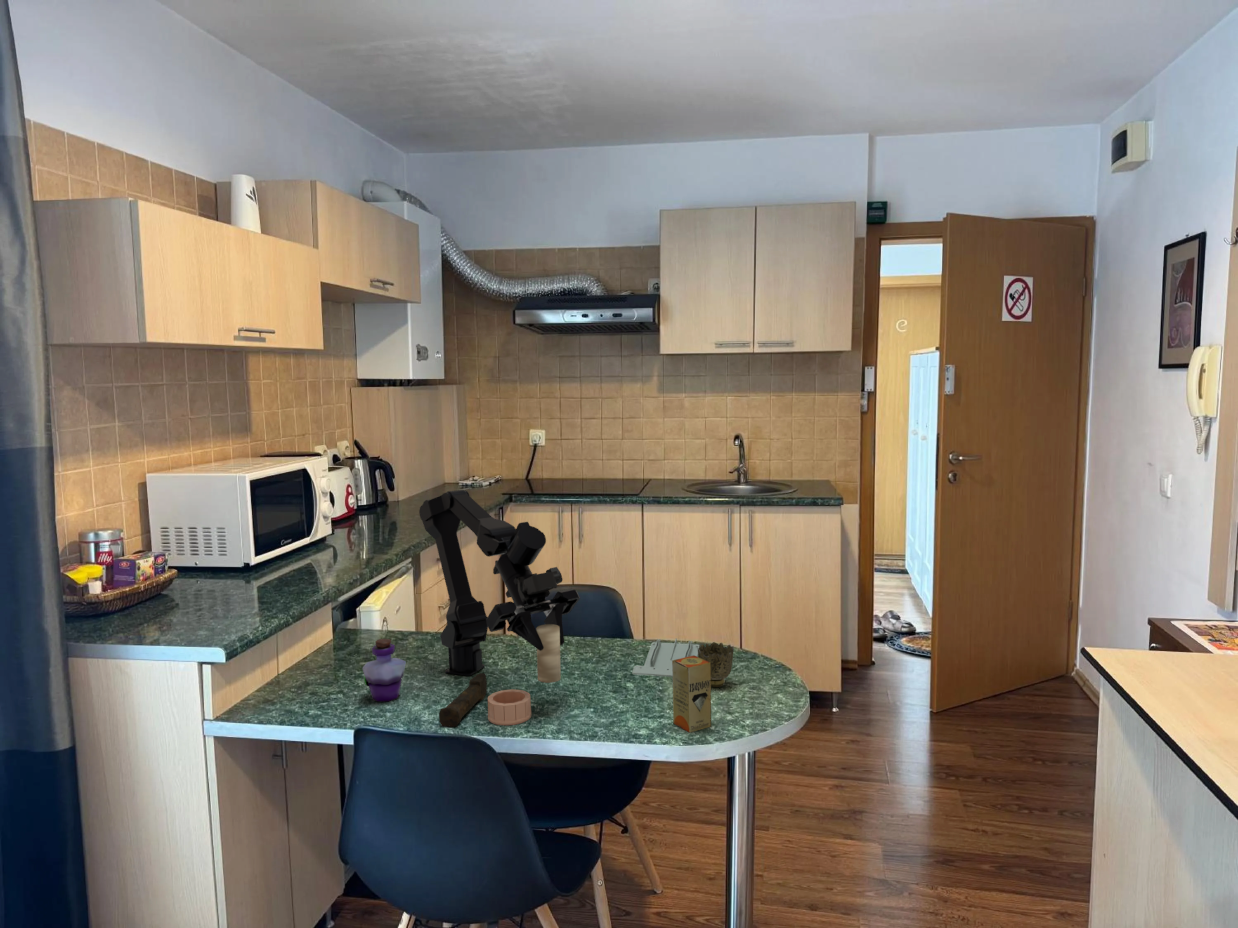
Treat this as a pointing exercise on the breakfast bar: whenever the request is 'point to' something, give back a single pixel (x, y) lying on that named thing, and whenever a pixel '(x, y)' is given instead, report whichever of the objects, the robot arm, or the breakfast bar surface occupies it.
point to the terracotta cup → (509, 707)
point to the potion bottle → (384, 672)
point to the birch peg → (549, 653)
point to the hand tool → (464, 701)
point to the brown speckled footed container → (717, 661)
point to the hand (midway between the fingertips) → (552, 646)
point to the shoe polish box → (691, 693)
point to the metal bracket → (664, 658)
